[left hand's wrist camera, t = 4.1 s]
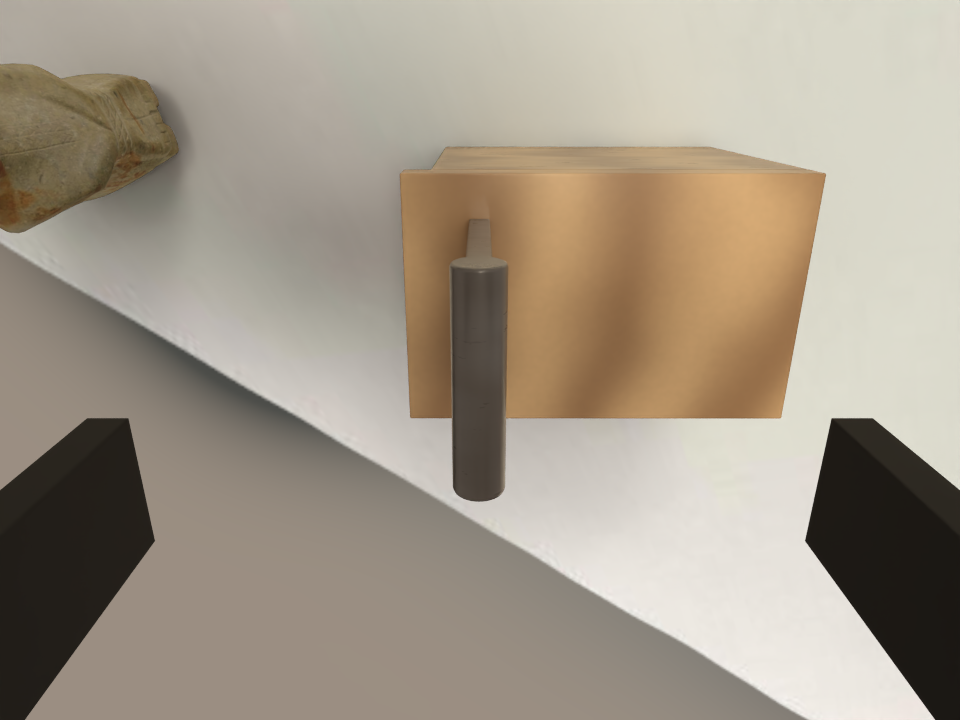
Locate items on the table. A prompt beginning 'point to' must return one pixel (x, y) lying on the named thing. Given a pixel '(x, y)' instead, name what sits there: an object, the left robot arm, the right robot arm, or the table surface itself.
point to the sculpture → (73, 140)
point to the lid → (599, 297)
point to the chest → (600, 159)
